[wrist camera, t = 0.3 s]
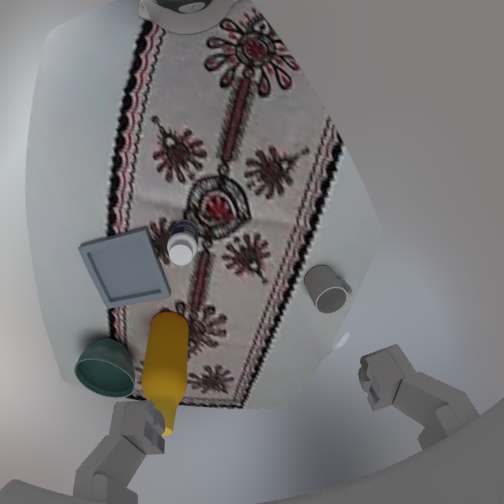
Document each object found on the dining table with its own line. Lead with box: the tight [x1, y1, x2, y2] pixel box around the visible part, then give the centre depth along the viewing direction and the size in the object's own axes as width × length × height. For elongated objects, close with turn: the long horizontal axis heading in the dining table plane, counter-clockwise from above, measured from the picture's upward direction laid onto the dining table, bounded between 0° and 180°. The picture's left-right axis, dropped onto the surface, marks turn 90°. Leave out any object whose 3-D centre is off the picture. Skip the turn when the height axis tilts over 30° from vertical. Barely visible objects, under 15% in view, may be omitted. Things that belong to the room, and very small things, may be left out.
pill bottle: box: [167, 220, 198, 265], centre depth 52 cm, size 5×5×10 cm
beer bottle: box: [142, 312, 189, 436], centre depth 54 cm, size 9×9×29 cm
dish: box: [78, 226, 171, 309], centre depth 57 cm, size 16×16×2 cm
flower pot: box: [74, 338, 135, 398], centre depth 64 cm, size 16×16×11 cm
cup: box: [304, 266, 352, 315], centre depth 62 cm, size 7×10×9 cm
